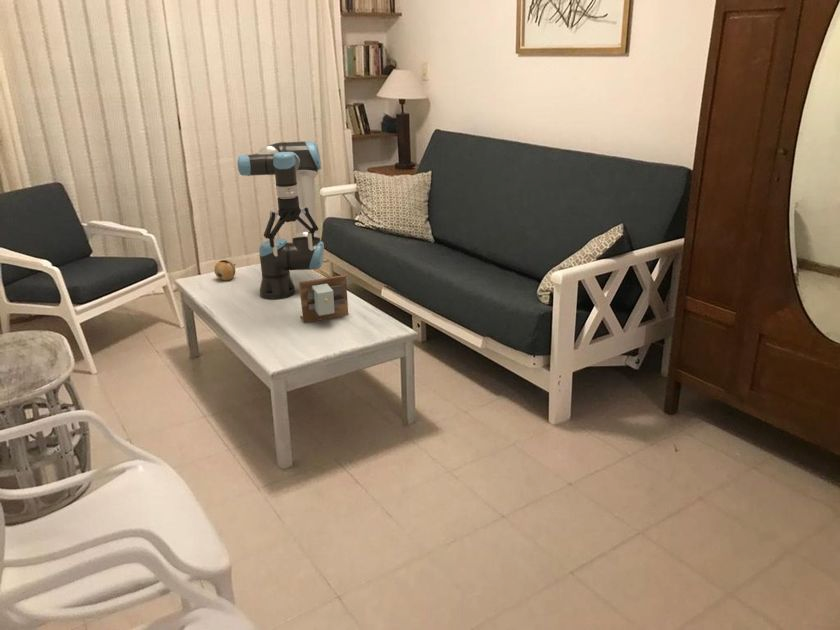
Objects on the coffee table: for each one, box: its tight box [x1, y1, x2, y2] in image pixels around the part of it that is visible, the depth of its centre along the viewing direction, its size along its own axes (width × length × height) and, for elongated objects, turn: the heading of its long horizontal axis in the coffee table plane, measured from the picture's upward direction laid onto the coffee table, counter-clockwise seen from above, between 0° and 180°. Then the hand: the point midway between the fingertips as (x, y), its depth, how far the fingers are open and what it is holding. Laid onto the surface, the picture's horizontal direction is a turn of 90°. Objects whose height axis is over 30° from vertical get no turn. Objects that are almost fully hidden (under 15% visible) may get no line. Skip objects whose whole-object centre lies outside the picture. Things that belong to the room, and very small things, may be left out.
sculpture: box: [214, 259, 237, 282], centre depth 314 cm, size 9×9×15 cm
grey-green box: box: [312, 284, 334, 316], centre depth 259 cm, size 9×6×9 cm
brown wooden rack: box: [298, 274, 349, 323], centre depth 265 cm, size 8×18×16 cm, turn 115°
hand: (293, 252), depth 256 cm, fingers open, 13 cm apart
